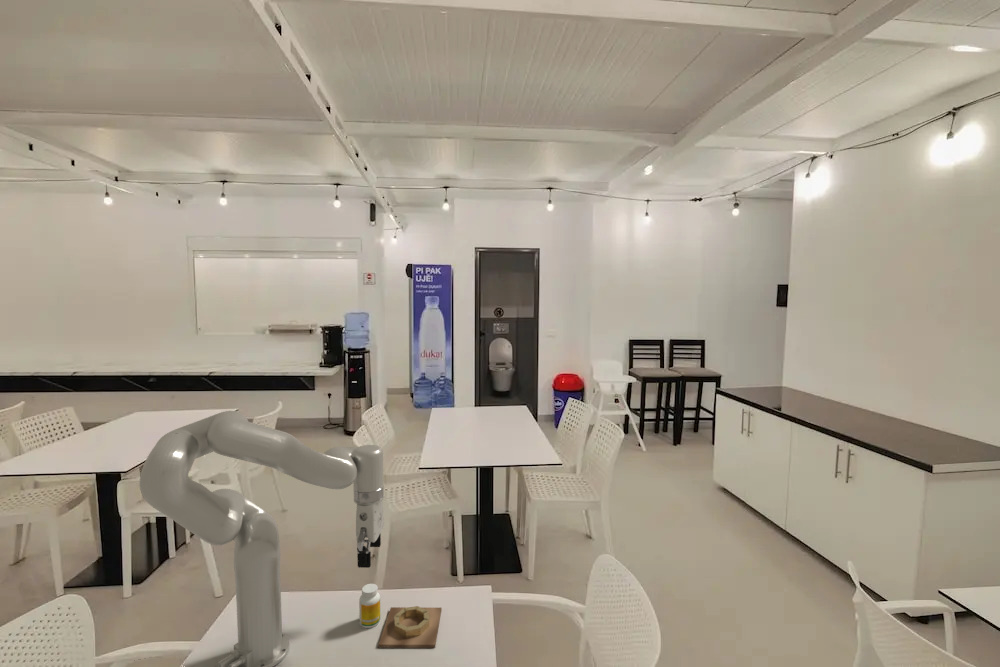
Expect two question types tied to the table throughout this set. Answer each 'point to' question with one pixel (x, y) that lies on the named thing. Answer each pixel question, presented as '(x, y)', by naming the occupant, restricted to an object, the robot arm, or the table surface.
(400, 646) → the base plate
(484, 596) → the table surface
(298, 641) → the table surface
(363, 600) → the supplement bottle
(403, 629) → the collar
